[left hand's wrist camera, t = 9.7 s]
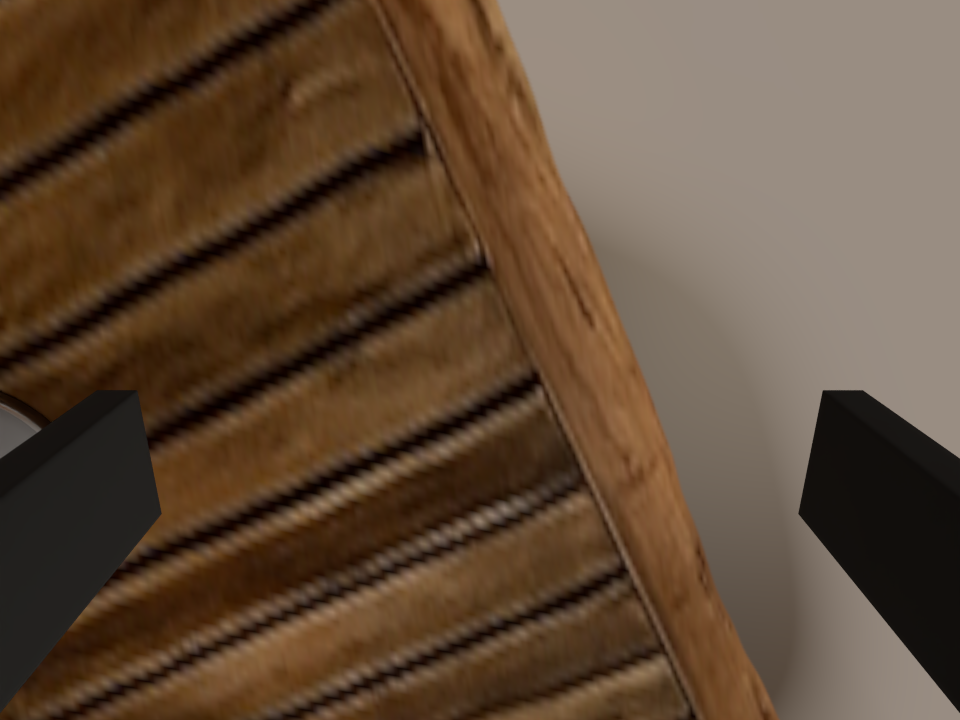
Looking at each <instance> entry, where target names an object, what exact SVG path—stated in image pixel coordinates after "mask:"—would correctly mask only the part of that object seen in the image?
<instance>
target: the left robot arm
mask: <svg viewBox="0 0 960 720" xmlns="http://www.w3.org/2000/svg"><path fill="white" fill-rule="evenodd" d="M161 514H162V513H161V508H160V503H159V498H158V493H157V488H156V483H155V478H154V473H153V468H152V463H151V458H150V453H149V448H148V443H147V438H146V433H145V428H144V423H143V418H142V412H141V407H140V402H139V397H138V392H137V390H97V391H96V392H94V393H93V394H91V395H90V396H88V397H87V398H86V399H84V400H83V401H81V402H80V403H79V404H77V405H76V406H74V407H73V408H71V409H70V410H69V411H67V412H66V413H64V414H63V415H61V416H60V417H59V418H57V419H56V420H54V421H53V422H52V423H51V422H50V421H48V420H47V419H46V418H45V417H43V416H42V415H41V414H39V413H38V412H37V411H35V410H34V409H32V408H31V407H29V406H27V405H26V404H24V403H22V402H20V401H18V400H16V399H14V398H12V397H10V396H8V395H5V394H3V393H0V712H1V711H2V710H3V709H4V708H5V706H6V705H7V704H8V703H9V701H10V700H11V699H12V698H13V696H14V695H15V694H16V693H17V692H18V690H19V689H20V688H21V687H22V685H23V684H24V683H25V682H26V680H27V679H28V678H29V677H30V675H31V674H32V673H33V672H34V671H35V669H36V668H37V667H38V666H39V664H40V663H41V662H42V661H43V659H44V658H45V657H46V656H47V655H48V653H49V652H50V651H51V650H52V648H53V647H54V646H55V645H56V643H57V642H58V641H59V640H60V638H61V637H62V636H63V635H64V634H65V632H66V631H67V630H68V629H69V627H70V626H71V625H72V624H73V622H74V621H75V620H76V619H77V618H78V616H79V615H80V614H81V613H82V611H83V610H84V609H85V608H86V606H87V605H88V604H89V603H90V601H91V600H92V599H93V598H94V597H95V595H96V594H97V593H98V592H99V590H100V589H101V588H102V587H103V585H104V584H105V583H106V582H107V580H108V579H109V578H110V577H111V576H112V574H113V573H114V572H115V571H116V569H117V568H118V567H119V566H120V564H121V563H122V562H123V561H124V560H125V558H126V557H127V556H128V555H129V553H130V552H131V551H132V550H133V548H134V547H135V546H136V545H137V543H138V542H139V541H140V540H141V539H142V537H143V536H144V535H145V534H146V532H147V531H148V530H149V529H150V527H151V526H152V525H153V524H154V523H155V521H156V520H157V519H158V518H159V516H160V515H161ZM799 515H800V516H801V517H802V519H803V520H804V521H805V523H806V524H807V525H808V526H809V527H810V529H811V530H812V531H813V532H814V534H815V535H816V536H817V537H818V539H819V540H820V541H821V542H822V543H823V545H824V546H825V547H826V548H827V550H828V551H829V552H830V553H831V555H832V556H833V557H834V558H835V559H836V561H837V562H838V563H839V564H840V566H841V567H842V568H843V569H844V571H845V572H846V573H847V574H848V576H849V577H850V578H851V579H852V580H853V582H854V583H855V584H856V585H857V587H858V588H859V589H860V590H861V592H862V593H863V594H864V595H865V597H866V598H867V599H868V600H869V601H870V603H871V604H872V605H873V606H874V608H875V609H876V610H877V611H878V613H879V614H880V615H881V616H882V618H883V619H884V620H885V621H886V622H887V624H888V625H889V626H890V627H891V629H892V630H893V631H894V632H895V634H896V635H897V636H898V637H899V638H900V640H901V641H902V642H903V643H904V645H905V646H906V647H907V648H908V650H909V651H910V652H911V653H912V655H913V656H914V657H915V658H916V659H917V661H918V662H919V663H920V664H921V666H922V667H923V668H924V669H925V671H926V672H927V673H928V674H929V675H930V677H931V678H932V679H933V680H934V682H935V683H936V684H937V685H938V687H939V688H940V689H941V690H942V692H943V693H944V694H945V695H946V696H947V698H948V699H949V700H950V701H951V703H952V704H953V705H954V706H955V708H956V709H957V710H958V711H959V712H960V458H958V457H957V456H955V455H954V454H952V453H951V452H950V451H948V450H947V449H945V448H944V447H943V446H941V445H940V444H938V443H937V442H935V441H934V440H933V439H931V438H930V437H928V436H927V435H926V434H924V433H923V432H921V431H920V430H918V429H917V428H916V427H914V426H913V425H911V424H910V423H908V422H907V421H906V420H904V419H903V418H901V417H900V416H899V415H897V414H896V413H894V412H893V411H891V410H890V409H889V408H887V407H886V406H884V405H883V404H881V403H880V402H879V401H877V400H876V399H874V398H873V397H871V396H870V395H869V394H867V393H866V392H864V391H863V390H823V392H822V398H821V402H820V407H819V413H818V418H817V423H816V428H815V433H814V438H813V443H812V448H811V453H810V458H809V463H808V468H807V473H806V478H805V483H804V488H803V493H802V498H801V504H800V508H799Z"/></svg>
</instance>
